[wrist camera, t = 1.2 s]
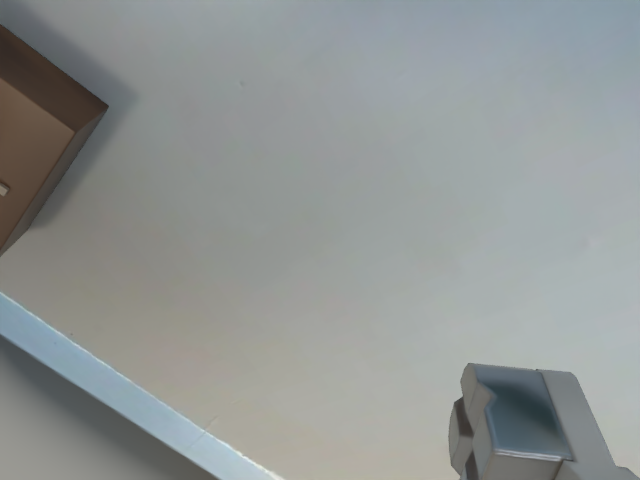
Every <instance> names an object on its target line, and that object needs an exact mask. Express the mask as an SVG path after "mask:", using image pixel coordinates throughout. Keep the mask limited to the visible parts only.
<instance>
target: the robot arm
mask: <svg viewBox="0 0 640 480" xmlns="http://www.w3.org/2000/svg"><path fill="white" fill-rule="evenodd" d="M460 383H461V388H462V393H463V397H461V398H460V399H459V400H457V401H456V402H454V405H453V409H452V413H451V417H450V425H449V436H448V437H449V453H450V460H451V466H452V467H453V468H454V469H455V470H456V471H457V473H458V474H459V475H460V479H459V480H640V478H638V477H637V476H636V475H635V474H634V473H633V472H631V471H630V470H629V469H628V468H625V467H618V466H616V465H615V463H614V461H613V458H612V456H611V454H610V452H609V449H608V447H607V445H606V443H605V440H604V438H603V436H602V434H601V431H600V429H599V427H598V425H597V422H596V420H595V418H594V416H593V413H592V411H591V409H590V407H589V404H588V402H587V400H586V398H585V395H584V393H583V391H582V389H581V387H580V384H579V382H578V380H577V378H576V377H575V376H574V375H573V374H572V373H571V372H563V371H552V370H540V369H536V370H533V369H526V368H515V367H505V366H495V365H484V364H474V363H468V364H467V366H466V367H465V369H464V372H463V375H462V378H461V381H460Z"/></svg>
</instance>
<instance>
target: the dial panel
mask: <svg viewBox="0 0 640 480" xmlns="http://www.w3.org/2000/svg"><path fill="white" fill-rule="evenodd" d="M107 109H108V105H107V104H105V103H104V102H103V101H101V100H100V99H99V98H97V97H96V96H95V95H93V94H92V93H91V92H89V91H88V90H87V89H85V88H84V87H83V86H81V85H80V84H79V83H77V82H76V81H75V80H74V79H72V78H71V77H70V76H68V75H67V74H66V73H64V72H63V71H62V70H60V69H59V68H58V67H56V66H55V65H54V64H52V63H51V62H50V61H48V60H47V59H46V58H44V57H43V56H42V55H40V54H39V53H38V52H36V51H35V50H34V49H32V48H31V47H30V46H28V45H27V44H26V43H24V42H23V41H22V40H20V39H19V38H18V37H16V36H15V35H14V34H13V33H11V32H10V31H9V30H7V29H6V28H5V27H3V26H2V25H1V24H0V257H1V256H2V255H3V254H4V253H5V252H6V251H7V250H8V249H9V248H10V247H11V246H12V245H13V244H14V243H15V242H16V241H17V240H18V239H19V238H20V237H21V236H22V235H23V234H24V233H25V232H26V231H27V229H28V228H29V226H30V225H31V223H32V222H33V220H34V219H35V217H36V216H37V214H38V213H39V211H40V210H41V208H42V207H43V205H44V204H45V202H46V201H47V199H48V198H49V196H50V195H51V193H52V192H53V190H54V189H55V187H56V186H57V184H58V183H59V181H60V180H61V178H62V177H63V175H64V174H65V172H66V171H67V169H68V168H69V166H70V165H71V163H72V162H73V160H74V159H75V157H76V156H77V154H78V153H79V151H80V150H81V148H82V147H83V145H84V144H85V142H86V141H87V139H88V138H89V136H90V135H91V133H92V132H93V130H94V129H95V127H96V126H97V124H98V123H99V121H100V120H101V118H102V117H103V115H104V114H105V112H106V111H107Z"/></svg>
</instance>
